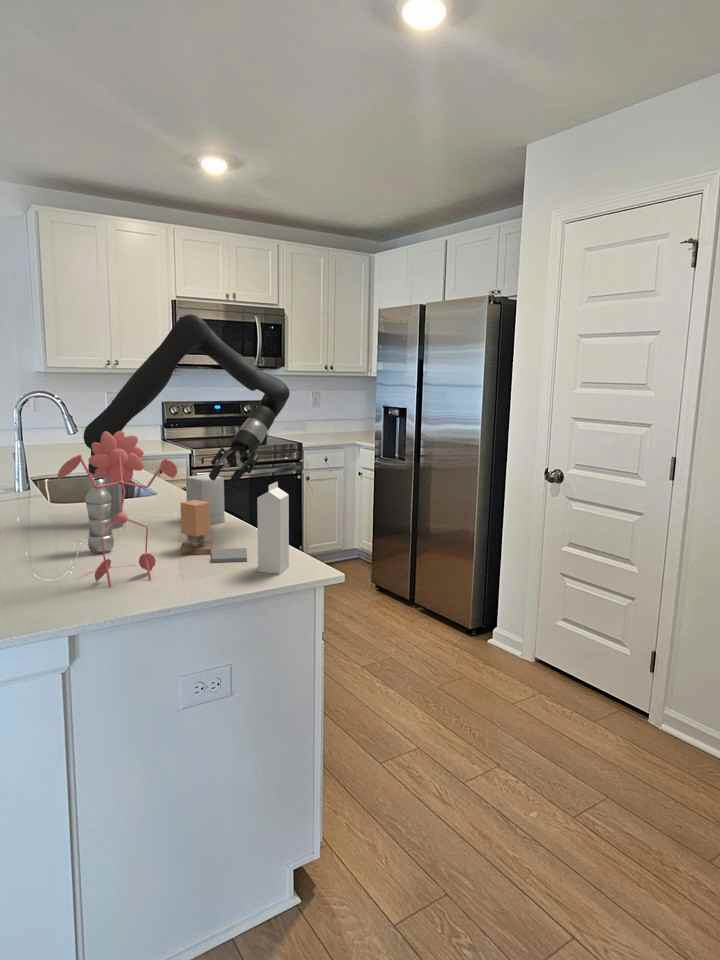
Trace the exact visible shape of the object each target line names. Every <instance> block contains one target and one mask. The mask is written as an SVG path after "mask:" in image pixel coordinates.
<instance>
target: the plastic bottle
mask: <svg viewBox="0 0 720 960" xmlns="http://www.w3.org/2000/svg"><path fill="white" fill-rule="evenodd" d="M93 480H94V482H95V484H96V486H100V485H105V478H93ZM96 486H95V487H96ZM90 487H91V489H90ZM95 487H94V485H93V484H92V482H91V480H90V486H89V490H88V492H87V494H86V495H85V499H84V501H85V505H86V511H87V517H88V525H89V528H88V538H87V545H88V546H87V547H88V550H90V552H91V553H97V554H98V553H99V554H101V553H102V554H103V550H102V542H101V534H102V533H103V532H104V531H105V530H106V529H107V528H108V527H109V526H110V525H111V522H110V510H111V495H110V494H109V492H108V491H107V490H106V489H105V487H102V488H97V489H95ZM112 529H113V528H111V527H110V528H109V529H108V530H107V531H106V532H105V533H104V534H103V535H102V536H103V544H104V552H106V553H107V552H110V551H112V550H113V549H114V546H115V545H114V544H115V539H114V538H115V537H114V535H113V531H112Z"/></svg>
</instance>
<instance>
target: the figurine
mask: <svg viewBox="0 0 720 960" xmlns="http://www.w3.org/2000/svg"><path fill="white" fill-rule="evenodd" d="M138 441H139V438H138V436H137V435H134V434H133V435H132V434H131V435H125V431H123V430H122V431H118V432H116V433H115V434H114V435H113V436H112V435H111V434H110V433H109V432H107V431H106V432H103V433H102V436H101V443H97V442H94V443H92V446H91V447H92V451H93V452H94V454H95V455H93V456H91V455H90V457H88V460H87V462H88V464H89V463H90V464H91V465H93V466H95V467H97V469H96V470H95V476H96V477H98V478H100V477H108V481H109V482H110V484H105V485H100V486H96V484H95V482H94V480H93V478H92V476H91V474H90V472H89V470H88V466H87V465H86V463H85V461H84V459H83V456H82V454H78V455H76V456H73V457H71V458H70V459H69V460H67V461H66V462H65V463H64V464H63V465H62V466H61V467H60V468H59V470H58V473H57V480H59V479H62V478H64V477H66V476H69V474H71V473H72V472H73V471H75V470H76V468H77V467H79V465H80V463H81V465H82V466H83V468H84V470H85V472H86V474H87V476H88V479H89V478H90V480H91V482H92V484H93V485H94V487H95V486H96V487H95V489H97V488H102V487H107V486H111V485H116V484H120V485H121V487H122V502H121V508H120V513H119V514H117V515H116V517H115V521H114V522H113V523H112V524H111V525H110V526H109V527H108V528H107V529H106V530H105V531H104V532H103V533H102V534H101V542H102V550H103V552H102V556H103V561H102V562H101V563H100V564H99V566H98V567H97V568H96V570H95V571H89V572H86V573H85V574H84V575H82V576H79V577H78V578H77V580H79V579H81V578H82V577H84V576H87V575H90V574H92V573H94V578H95V579H94V580H95V581H96V582H98V581H99V580H101V579H102V577H103V576H104V575H105V574H106V579H107V583H108V588H111V587H112V583H111V581H112V580H111V575H110V571H109V570H110V569H114V568H117V566H111V562H112V560H111V559H110V558H106V553H105V552H104V544H103V536H102V535H103V534H104V533H105V532H106V531H107V530H108V529H109V528H110V527H111V526H112V525H113V524H114V523H115V522H117V523H118V524H123V525H124V524H126V523H127V521H128V522H131V523H132V524H136V525H138V526H140V527H144V528H145V529H146V531H145V532H146V533H145V551H144V553H142V554H140V556H139V558H138V564H139V566H140V568H142V569H143V570H145V571H146V572H147V576H148V580H152V575H151V572H152V570H153V569H154V567H155V565H156V557H155V556H154V555H153V554H152V553H149V552H148V539H149V538H148V536H149V535H148V534H149V528H148V525H145V524H142V523H139V522H137V521H135V520H131V519H129V518H128V515H127V513H124V512H123V513H122V508H123V507H124V504H125V503H124V502H125V498H126V494H127V493H126V492H127V491H126V488H125V485H128V486H132V487H138V488H143V489H148V488H150V486H151V485H152V484H153V482H154V480H155V479H156V477H157V476H158V475H159V473H160V472H163V474H165V475H166V476H168V477H170V478H171V479H174V478H175V477H176V475H177V474H178V467H177V465H176V463H175V462H174V461H172V460H170V459H168V458H166V457H164V459H163V460H161V461H160V465H159V467H158V468H157V470H156V472H155V473H154V474H153V476H152V478H151V479H150V481H148V484H147V485H142V484H139V483H133V482H131V481H132V480H133V475H134V471H137V472H139V471H143V470H144V466H145V465H144V463H143V461H142V459H141V458H142V457H143V456H144V453H145V452H144V450H143V449H141V448H140V447H139V446H137V444H138ZM120 480H121V481H120ZM135 566H136V564H135V565H134V564H133V565H130V564H129V565H128V567H135ZM122 567H123V568H124V567H125V565H121V566H118V568H122ZM174 574H175V575H176V573H174Z"/></svg>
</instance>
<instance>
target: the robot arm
mask: <svg viewBox="0 0 720 960" xmlns="http://www.w3.org/2000/svg"><path fill="white" fill-rule="evenodd" d="M192 349H195V350H197V351H199V352H200V353H203V354H204V355H205V356H208V357H209V358H210V359H212V360H213V361H214V362H216V363H217V364H218V365H219V366H220V367H222V369H223V370H224V371H226V373H228V375H230V376H231V377H232V378H233V379H235V380H236V381H237V382H239V383H240V384H241V385H242V386H243V387H245V388H246V389H248V390H250V391H252V392H254V391H260V392H261V393H262V394H263V393H264V394H263V396H262V398H261V400H260V401H259V403H258V405H257V406H256V407H254V408H253V410H252V411H251V413H250V414H249V416H248V417H247V418H246V420H245V421H244V422H243V423H242V425H241V427H239V429H238V431H236V434H235V435H234V437H233V438H232V440H231V443H230V448H228V450H226V449H225V448H224V447H220V449H219V450H218V452H217V453H216V454H215V456H214V457H213V458H212V460H211V461H210V464H211V465H212V466H213V467H212V469H211V471H210V473H208V474H209V478H210V479H211V480H215V479H216V478H217V476H219V475H220V473H221V472H222V470H223V469H225V468H229V467H230V466H235V467H237V469H235V471H234V472H233V474H232V476H231V477H230V478H229V480H230V482H231V483H232V485H236V484H237V483H238V482H239V481H240V480H241V478H242V476H243V475H245V474H246V473H247V474H251V473H252V471H253V469H254V468H255V466H256V464H257V462H258V460H259V456H258V454H257V451H258V449H259V447H260V446H261V444H262V443H263V441H264V439H265V438H266V435H267V433H268V432H269V430H270V428H271V427H272V425H273V423H274V421H275V419H276V418H277V416H278V415H279V414H280V412H282V410H283V408H284V407H285V406H286V403H287V401H288V399H289V398H290V396H291V395H290V389H289V387H288V386H287V384H286V383H285V382H284V381H283V380H281V379H279V378H277V377H275V376H273V375H271V374H270V373H267V372H264V371H263V370H261V369H260V368H259V367H258V366H256V365H255V364H254V363H253V362H251V361H250V360H249V359H247V358H246V357H245V356H243V355H242V354H240V353H239V352H237V351H235V350H234V349H233V348H231V346H229V345H228V344H227V343H225V342H224V341H223V340H222V339H221V338H220V337H219V336H218V335H217V334H216V333H215V332H214V330H212V328H211V327H210V326H209V325H208V324H207V322H206V321H205V320H204V319H202V318H201V317H200V316H197V315H195V314H189V313H188V314H186V315H185V314H184V315H182V316H181V317H179V319H178V320H176V322H175V324H174V325H173V327H172V328H171V329H170V330H169V333H168V334H167V335H166V337H165V338H164V339H163V341H162V342H161V343H160V345H158V347H157V348H156V349H155V350H154V351H153V353H151V354H150V355H149V356H148V358H146V360H145V361H144V362H143V363H142V364H141V365H140V366H139V367H138V368H137V369H136V370H135V372H134V373H133V374H132V375H131V376H130V378H129V379H127V381H126V383H124V385H123V386H122V388H121V389H120V390H119V392H118V393H117V395H115V397H114V399H113V400H112V401H111V403H110V404H109V405H108V406H107V407H106V408H105V409H104V410H103V411H102V412H101V413H100V414H98V416H96V418H94V419H93V420H92V421H91V422H90V423H89V424H88V425H87V426H86V427H85V428H84V431H83V437H82V438H83V441H84V444H85V446H86V447H87V448H89V449H90V457H91V456H93V455H95V454H94V452H93V451H92V447H91V446H92V443H94V442H97V443H101V436H102V433H103V432H106V431H107V432H109V433H110V434H111V435H112V436H113V435H114V434H115V433H116V432H118V431H123V429H124V428H125V427H126V426H127V425H128V423H129V422H130V421H132V419H133V418H134V417H136V416H137V415H139V413H141V412H142V411H144V410H145V409H146V408H147V407H148V406H149V405H150V404H151V403H152V402H153V401H154V400H155V399H156V398H157V397H158V396H159V395H160V394H161V392H162V391H163V390H164V389H165V387H166V386H167V385H168V383H169V382H170V380H171V378H172V376H173V374H174V372H175V370H176V368H177V366H178V364H179V363H180V361H182V359H184V357H185V356H187V354H188V353H189V352H190V351H191V350H192ZM221 464H222V465H221ZM87 465H88V466H87V468H88V470H89V472H90V474H91V476H92V478H98V477H96V476H95V470H96V469H97V467H95V466H93V465H91V464H90V463H89V462H88V464H87ZM100 478H105V484H110V482H109V481H108V477H100ZM88 481H89V483H88V485H89V490H90V489H91V487H90V478H89V477H88ZM120 481H121V480H120ZM105 489H106V490H107V491H108V492H109V494H110V495H111V510H110V522H111V524H112V523H113V522H114V521H115V517H116V515H117V514H119V513H120V508H121V502H122V496H123V489H122V486H121V485H120V484H116V485H111V486H107V487H105ZM122 513H124V511H123V508H122ZM123 525H124V524H118V523H117V522H115V523H114V524H113V525H112V526H111V529H116V528H120V527H122V526H123Z"/></svg>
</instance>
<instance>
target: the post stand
mask: <svg viewBox="0 0 720 960" xmlns="http://www.w3.org/2000/svg"><path fill="white" fill-rule="evenodd" d="M212 551H213V541H212V540H205V535H201V536H197V537H196V536H191V535H187V541H182V542H181V545H180V549H179V556H200V555H202V556H203V555H205V556H206V555H212Z"/></svg>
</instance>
